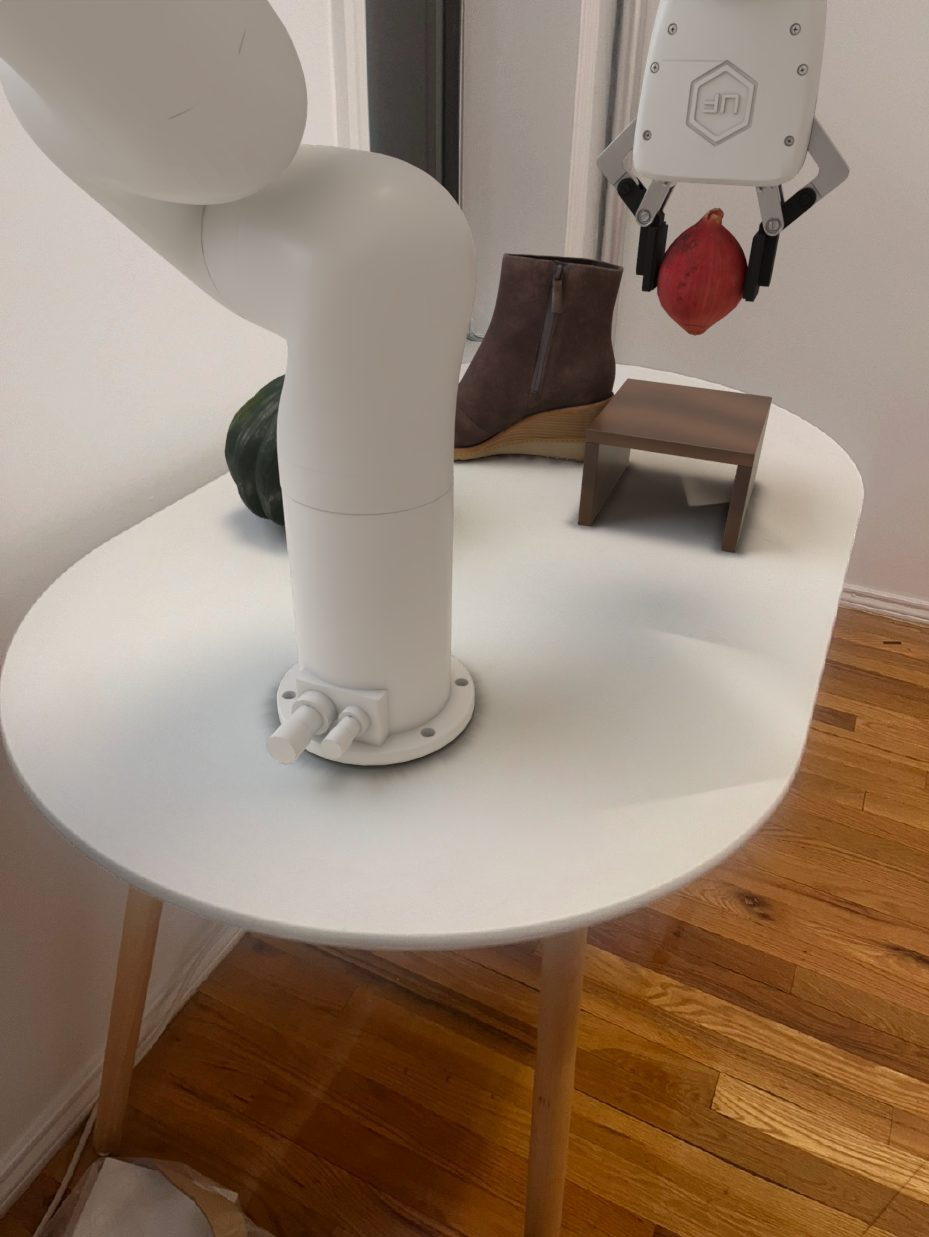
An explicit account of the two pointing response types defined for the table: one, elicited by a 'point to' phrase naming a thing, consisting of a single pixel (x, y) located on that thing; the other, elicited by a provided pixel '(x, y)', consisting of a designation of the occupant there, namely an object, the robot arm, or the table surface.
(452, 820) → the table surface
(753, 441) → the walnut shelf
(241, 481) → the squash
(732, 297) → the onion
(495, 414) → the boot
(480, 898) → the table surface
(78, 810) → the table surface
